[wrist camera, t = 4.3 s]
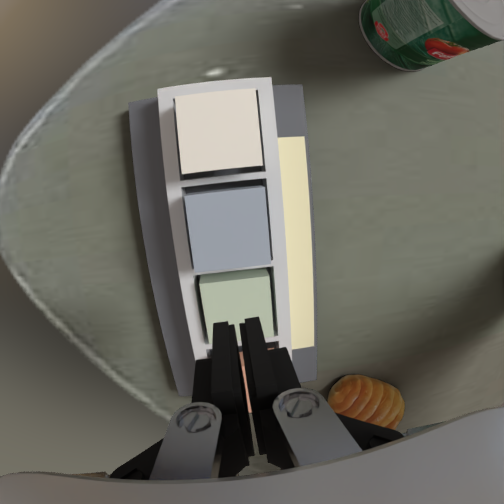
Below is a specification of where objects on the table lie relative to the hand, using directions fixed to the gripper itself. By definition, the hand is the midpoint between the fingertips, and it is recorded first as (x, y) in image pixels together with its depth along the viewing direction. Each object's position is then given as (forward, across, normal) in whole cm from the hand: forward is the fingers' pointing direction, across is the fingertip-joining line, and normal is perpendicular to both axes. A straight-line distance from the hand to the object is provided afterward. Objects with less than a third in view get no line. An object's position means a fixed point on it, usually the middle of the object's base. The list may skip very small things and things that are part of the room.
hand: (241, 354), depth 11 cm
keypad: (+13, 0, 0) cm, 13 cm away
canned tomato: (+13, -17, -18) cm, 28 cm away
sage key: (+11, 0, +2) cm, 11 cm away
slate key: (+9, 0, -3) cm, 10 cm away
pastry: (+14, -11, +18) cm, 25 cm away
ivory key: (+9, 0, -9) cm, 13 cm away
